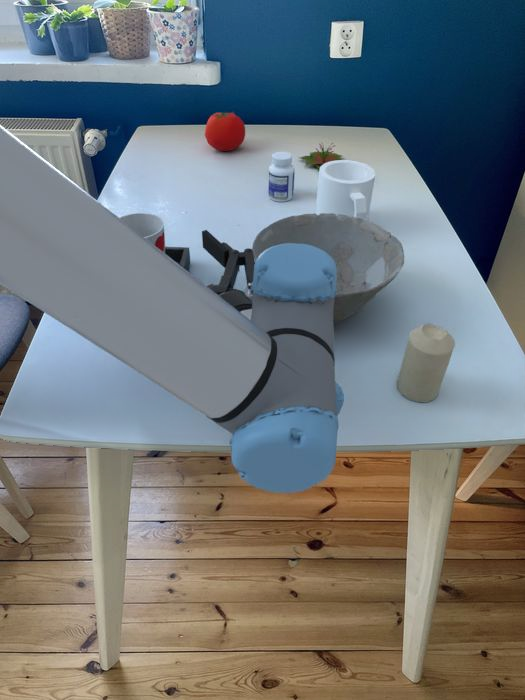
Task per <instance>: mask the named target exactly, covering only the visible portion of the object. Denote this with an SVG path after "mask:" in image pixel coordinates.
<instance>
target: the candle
mask: <svg viewBox="0 0 525 700" xmlns="http://www.w3.org/2000/svg"><path fill="white" fill-rule="evenodd" d="M407 339H408V340H407V343H406V347H405V351H404V353H403V358H402V362H401V366H400V370H399V374H398V377H397V383H396V386H397V390H398V391H399V393H400V394H401V395H402V396H403V397H404V398H406V399H408V400H409V401H412V402H416V403H428V402H431V401H433V400H435V399H436V398H437V396H438V395H439V392H440V390H441V387H442V384H443V381H444V379H445V376H446V373H447V370H448V366H449V365H450V361H451V358H452V355H453V352H454V349H455V346H456V342H455V338H454V337H453V336H452V334H451V333H449V332H448V331H447V329H445V328H442V327H440V326H437V325H434V324H429V323H428V324H422V325H420V326H417V327H415V328H413V329H412V330H410V333H409V335H408V338H407Z"/></svg>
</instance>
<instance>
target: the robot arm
mask: <svg viewBox="0 0 525 700" xmlns="http://www.w3.org/2000/svg"><path fill="white" fill-rule="evenodd" d="M119 217H120V216H118V215H117V214H115V213H114V212H112V211H111V210H110V209H109V208H107V207H106V206H105V205H104V204H102V203H101V202H99V200H97V199H96V198H95V197H94V196H92V195H90V193H88V192H87V191H85V190H84V189H83V188H82V187H80V186H79V185H78V184H77V183H75V182H74V181H73V180H72V179H70V178H69V177H67V175H65V174H64V173H62V172H61V171H60V170H59V169H57V168H56V167H55V166H53V164H51V163H49V162H48V161H47V160H46V159H44V158H43V157H42V156H40V155H39V154H38V153H37V152H36V151H34V150H33V149H32V148H30V147H29V146H28V145H27V144H25V143H24V142H23V141H21V140H20V139H19V138H18V137H16V136H15V135H13V134H12V133H11V132H10V131H8V130H7V129H6V128H5V127H3V126H2V125H1V124H0V285H1V286H3V287H4V288H5V289H6V290H9V291H10V292H12V293H13V294H15V295H17V296H18V297H20V298H22V300H24V301H26V302H28V303H29V304H31V305H32V306H34V307H35V308H37V309H39V310H40V311H42V312H43V313H45V314H46V315H48V316H49V317H51V318H52V319H54V320H55V321H57V322H58V323H60V324H62V325H63V326H65V327H67V328H68V329H70V330H72V331H73V332H74V333H76V334H77V335H79V336H80V337H82V338H84V339H85V340H86V341H89V342H90V343H91V344H93V345H94V346H96V347H98V348H100V349H101V350H102V351H104V352H106V353H107V354H109V355H110V356H112V357H114V358H115V359H116V360H118V361H120V362H122V363H123V364H125V365H126V366H128V367H129V368H131V369H132V370H134V371H136V372H137V373H138V374H140V375H142V376H144V377H145V378H146V379H149V380H150V381H151V382H152V383H154V384H156V385H157V386H159V387H161V388H162V389H164V390H165V391H167V392H169V393H170V394H172V395H173V396H174V397H177V398H178V399H179V400H181V401H183V402H184V403H186V404H187V405H189V406H190V407H192V408H194V409H195V410H197V411H198V412H200V413H201V414H202V415H204V416H205V417H207V418H208V419H209V420H211V421H212V422H214V423H215V424H217V426H220V427H221V428H223V429H224V430H226V431H227V432H228V433H230V434H231V435H232V436H231V438H230V441H229V445H230V450H231V454H230V455H231V456H230V457H231V463H232V465H233V468H234V469H235V470H236V471H237V472H238V476H239V477H240V478H241V479H242V480H243V481H244V482H245V483H247V484H248V485H250V486H253V487H254V488H256V489H259V490H261V491H265V492H270V493H276V494H293V493H299V492H300V493H301V492H303V491H307V490H309V489H311V488H312V487H313V486H317V485H319V484H321V483H322V482H324V481H325V480H326V479H327V478H328V477H329V476H330V475H331V474H332V472H333V469H334V467H335V465H336V461H337V448H338V447H337V444H338V431H339V426H340V424H339V423H340V422H339V417H338V416H339V414H340V413H341V411H342V408H343V406H344V401H345V394H344V392H343V389H342V387H341V385H339V384H338V382H337V381H336V369H335V331H334V329H335V328H334V323H333V308H334V300H335V296H336V295H337V288H336V280H337V267H336V264H335V262H334V260H333V259H332V257H331V256H330V255H329V254H327V253H326V252H325V251H323V250H321V249H319V248H317V247H314V246H311V245H307V244H296V243H285V244H280V245H276V246H273V247H270V248H268V249H266V250H265V251H264V252H262V253H261V254H260V255H259V256H258V258H257V259H256V262H255V259H254V254H253V250H252V248H249V247H248V248H245V249H244V250H243V251H239V250H238V249H234V248H233V247H232V246H231V245H229V244H228V243H227V242H221V241H219V240H218V239H217V237H215V236H214V235H213V234H212V233H210V231H208V229H205V230H201V239H202V249H204V250H205V251H206V252H207V253H208V254H209V255H210V256H211V257H212V258H213V259H214V260H215V261H216V262H217V263H219V264H220V265H221V266H222V267H223V268H224V272H223V274H222V275H221V277H220V280H219V283H218V284H213V283H211V284H208V285H207V284H205V283H203V281H201V280H200V279H198V278H197V277H195V275H193V274H192V273H191V272H189V270H188V271H187V270H185V269H184V268H183V267H181V266H180V265H179V264H178V263H176V262H175V261H174V260H172V259H171V258H170V257H169V256H167V255H166V254H165V253H163V252H162V251H161V250H160V249H158V248H157V247H156V246H155V245H153V244H152V243H151V242H149V241H148V240H147V239H146V238H144V237H143V236H142V235H140V234H139V233H138V232H137V231H135V230H134V229H133V228H131V227H130V226H129V225H128V224H126V223H125V222H124V221H122V220H121V219H120V218H119ZM240 266H243V268H244V272H245V279H246V287H245V292H244V291H243V290H241V289H236V288H235V284H236V281H237V277H238V274H239V272H240Z"/></svg>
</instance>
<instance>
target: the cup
mask: <svg viewBox="0 0 525 700" xmlns="http://www.w3.org/2000/svg"><path fill="white" fill-rule="evenodd" d="M118 217H119V218H120V219H121V220H122V221H124V222H125V223H126V224H128V225H129V226H130V227H131V228H133V229H134V230H135V231H137V232H138V233H139V234H140V235H142V236H143V237H144V238H146V239H147V240H148V241H149V242H151V243H152V244H153V245H155V246H156V247H157V248H158V249H160V250H161V251H162V252H163V253H165V247H166V238H165V235H166V234H165V222H164V220H163V219H162V218H161V217H159V216H158V215H155V214H152V213H146V212H135V213H134V212H133V213H129V214H128V213H127V214H125V215H121V216H118Z"/></svg>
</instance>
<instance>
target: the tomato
mask: <svg viewBox="0 0 525 700" xmlns="http://www.w3.org/2000/svg"><path fill="white" fill-rule="evenodd" d="M235 112H236V111H231V112H215V113H213V114H212V115H210V116H209V118H208V120H207V122H206V125H205V129H204V137H205V140H206V141H207V144H208V145H209V146H210V147H211V148H213V149H214V150H217V151H221V152H224V151H225V152H230V151H234V150H236V149H237V148H239V147H240V146H241V145H242V144H243V142H244V141H245V138H246V126H245V123H244V121H243V120H242V119H241V117H240V116H238V115H236V114H235Z"/></svg>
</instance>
